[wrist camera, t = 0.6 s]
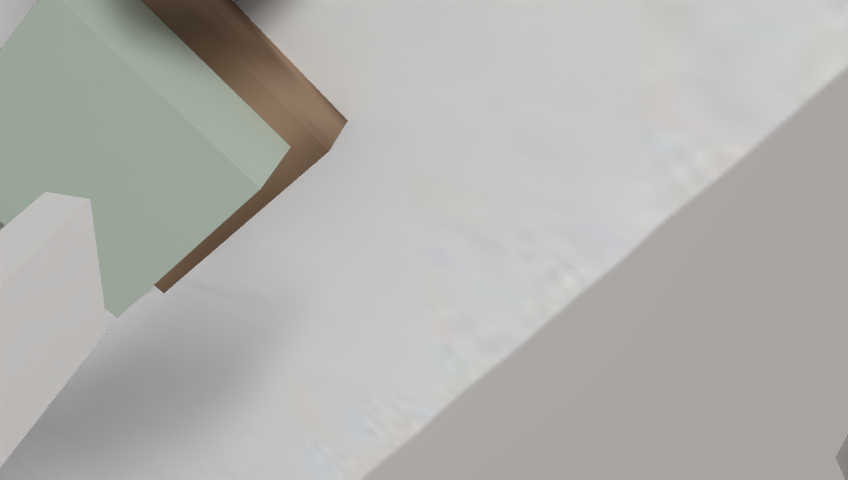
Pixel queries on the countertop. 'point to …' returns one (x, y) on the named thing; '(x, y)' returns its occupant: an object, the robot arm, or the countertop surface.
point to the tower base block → (252, 101)
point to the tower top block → (126, 136)
